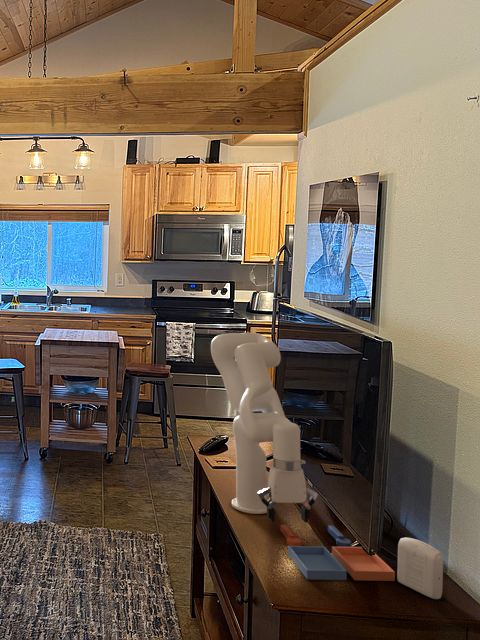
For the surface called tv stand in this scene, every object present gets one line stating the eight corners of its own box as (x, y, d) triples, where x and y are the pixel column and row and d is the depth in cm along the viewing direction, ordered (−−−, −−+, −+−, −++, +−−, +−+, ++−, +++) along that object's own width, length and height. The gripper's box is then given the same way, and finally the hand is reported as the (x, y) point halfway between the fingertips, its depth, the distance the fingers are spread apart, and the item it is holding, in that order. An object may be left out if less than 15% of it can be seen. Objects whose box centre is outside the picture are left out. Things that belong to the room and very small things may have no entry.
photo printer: (445, 597, 160) (446, 548, 160) (434, 601, 159) (435, 551, 158) (405, 578, 170) (405, 531, 169) (394, 581, 168) (394, 535, 167)
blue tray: (287, 554, 184) (287, 545, 184) (324, 555, 183) (324, 546, 183) (307, 579, 170) (307, 570, 170) (346, 580, 169) (346, 570, 169)
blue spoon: (323, 531, 198) (323, 525, 198) (336, 531, 198) (336, 525, 198) (339, 548, 187) (339, 541, 187) (353, 548, 187) (353, 541, 187)
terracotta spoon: (276, 530, 199) (276, 524, 199) (289, 531, 199) (289, 524, 199) (289, 547, 188) (289, 540, 188) (303, 547, 188) (303, 540, 188)
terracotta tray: (331, 555, 183) (331, 546, 183) (368, 555, 182) (368, 547, 182) (354, 580, 169) (354, 570, 169) (394, 581, 168) (394, 571, 168)
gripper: (311, 460, 198) (312, 516, 198) (253, 460, 199) (254, 515, 200) (321, 467, 191) (322, 525, 191) (261, 467, 192) (262, 525, 192)
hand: (287, 520), depth 195 cm, fingers open, 9 cm apart
